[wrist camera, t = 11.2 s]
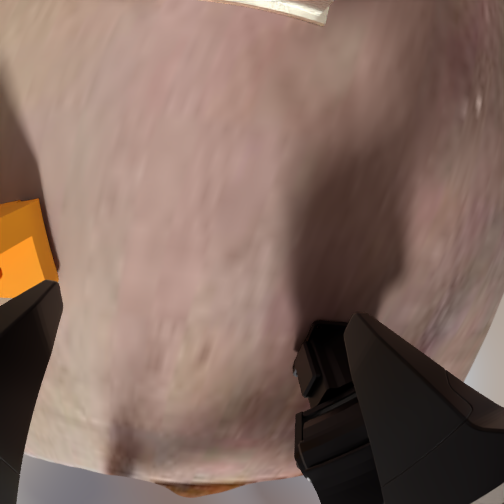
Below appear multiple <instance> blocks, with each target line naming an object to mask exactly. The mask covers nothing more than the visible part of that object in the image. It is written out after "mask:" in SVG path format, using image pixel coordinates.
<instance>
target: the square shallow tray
mask: <svg viewBox="0 0 504 504" xmlns="http://www.w3.org/2000/svg"><path fill="white" fill-rule="evenodd" d="M200 1H209V2H217V3H224V4H231V5H237V6H243V7H248V8H254V9H258V10H263V11H268V12H272V13H276V14H280V15H284V16H288V17H292V18H296V19H299V20H303V21H306V22H309V23H313V24H316V25H319V26H322V27H323V26H324V25H325V23H326V19H327V14H328V10H329V6H330V4H331V3H332V2H333V1H334V0H200Z"/></svg>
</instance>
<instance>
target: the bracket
mask: <svg viewBox="0 0 504 504" xmlns="http://www.w3.org/2000/svg"><path fill="white" fill-rule="evenodd" d="M44 280H53V281H57V282H58V274H57V270H56V267H55V264H54V260H53V257H52V253H51V250H50V246H49V242H48V238H47V234H46V230H45V226H44V222H43V217H42V213H41V208H40V203H39V198H38V199H33V200H28V201H22V202H21V200H18V201H13V202H8V203H4V204H0V297H4V298H15V297H16V296H18V295H20V294H21V293H23V292H25V291H26V290H28V289H30V288H32V287H33V286H35V285H37V284H39V283H40V282H42V281H44Z"/></svg>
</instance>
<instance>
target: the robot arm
mask: <svg viewBox="0 0 504 504" xmlns="http://www.w3.org/2000/svg"><path fill="white" fill-rule="evenodd" d="M62 311H63V302H62V297H61V291H60V286H59V283H58V282H57V281H53V280H44V281H42V282H40V283H39V284H37V285H35V286H33V287H32V288H30V289H28V290H26V291H25V292H23V293H21V294H20V295H18V296H16V297H15V298H13V299H11V300H9V301H8V302H6V303H5V304H3V305H1V306H0V504H16V501H17V493H18V485H19V478H20V475H19V474H20V471H21V464H22V458H23V454H24V449H25V444H26V440H27V435H28V431H29V427H30V422H31V419H32V415H33V411H34V407H35V404H36V400H37V397H38V393H39V390H40V387H41V383H42V380H43V377H44V374H45V371H46V368H47V365H48V362H49V359H50V356H51V353H52V349H53V345H54V341H55V337H56V333H57V329H58V326H59V322H60V318H61V315H62ZM317 326H320V327H318V328H316V327H317ZM294 364H295V366H294V369H293V375H294V376H295V377H298V380H299V384H300V388H301V392H302V395H303V397H304V398H308V399H309V403H310V407H311V409H309V410H307V411H304V412H300V413H298V414H296V423H295V453H294V457H295V460H296V465H297V467H298V468H299V469H300V470H301V472H302V473H303V475H304V476H305V478H306V479H307V480H308V481H310V482H311V483H312V484H313V486H314V488H315V490H316V492H317V494H318V497H319V499H320V502H321V504H504V408H503V407H501V406H499V405H498V404H496V403H494V402H493V401H491V400H490V399H488V398H486V397H485V396H483V395H482V394H480V393H479V392H477V391H476V390H474V389H473V388H471V387H470V386H468V385H466V384H465V383H464V382H462V381H461V380H459V379H458V378H457V377H455V376H454V375H452V374H451V373H450V372H448V371H447V370H445V369H444V368H443V367H441V366H440V365H439V364H437V363H436V362H435V361H433V360H432V359H430V358H429V357H428V356H426V355H425V354H424V353H422V352H421V351H419V350H418V349H417V348H415V347H414V346H413V345H411V344H410V343H408V342H407V341H406V340H404V339H403V338H401V337H400V336H399V335H397V334H396V333H394V332H393V331H392V330H390V329H389V328H387V327H386V326H385V325H383V324H382V323H380V322H379V321H378V320H376V319H375V318H373V317H372V316H371V315H369V314H368V313H365V312H356V313H354V314H353V315H352V317H351V319H350V321H349V323H340V322H330V321H315V322H314V323H313V324H312V327H311V329H310V332H309V334H308V336H307V339H306V341H305V342H304V343H303V344H302V346H301V348H300V351H299V353H298V355H297V358H296V360H295V362H294Z"/></svg>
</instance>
